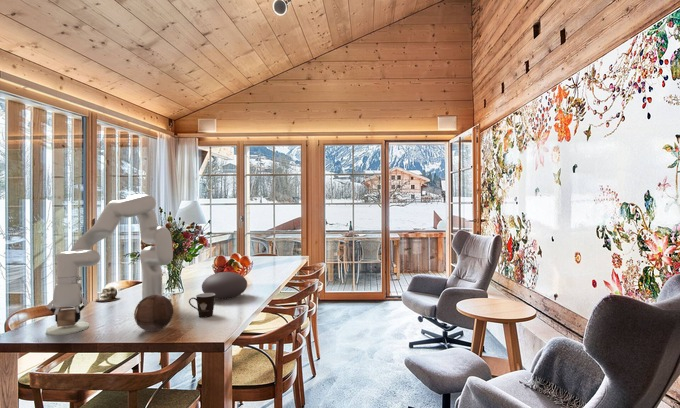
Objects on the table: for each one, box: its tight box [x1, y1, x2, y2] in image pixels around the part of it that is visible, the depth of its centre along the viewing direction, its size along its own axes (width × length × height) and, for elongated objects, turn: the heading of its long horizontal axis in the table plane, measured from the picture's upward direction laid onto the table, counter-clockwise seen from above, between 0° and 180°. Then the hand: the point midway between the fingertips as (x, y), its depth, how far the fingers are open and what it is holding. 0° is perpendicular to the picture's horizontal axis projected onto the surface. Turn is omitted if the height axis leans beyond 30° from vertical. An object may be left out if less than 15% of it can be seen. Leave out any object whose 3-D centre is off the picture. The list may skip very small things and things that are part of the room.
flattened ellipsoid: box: [201, 271, 248, 300], centre depth 220 cm, size 25×25×15 cm
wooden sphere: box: [133, 294, 174, 332], centre depth 164 cm, size 15×15×15 cm
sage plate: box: [45, 320, 90, 336], centre depth 166 cm, size 15×15×1 cm
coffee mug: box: [188, 292, 216, 319], centre depth 186 cm, size 12×9×10 cm
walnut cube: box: [56, 307, 77, 327], centre depth 166 cm, size 6×6×6 cm
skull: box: [95, 285, 121, 302], centre depth 219 cm, size 12×10×10 cm
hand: (68, 321), depth 166 cm, fingers closed on walnut cube, 6 cm apart
